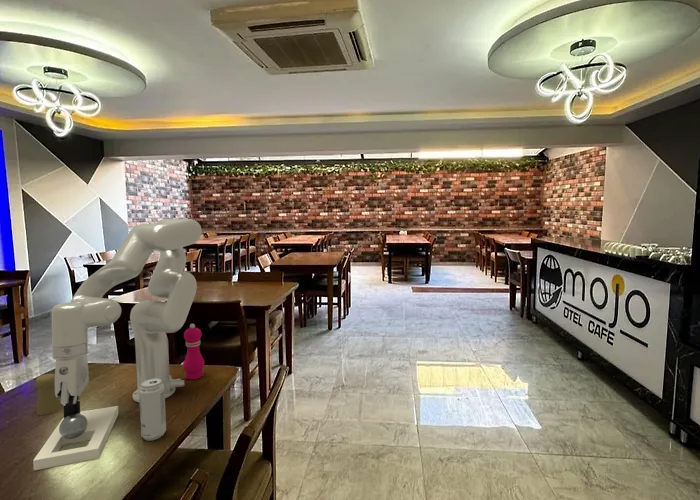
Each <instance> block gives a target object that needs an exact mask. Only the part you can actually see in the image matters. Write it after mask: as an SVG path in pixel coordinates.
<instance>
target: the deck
mask: <svg viewBox="0 0 700 500" xmlns="http://www.w3.org/2000/svg"><path fill="white" fill-rule="evenodd" d="M80 414H82V415H84V416H85V417H86V418H87V421H88V425H87V428H86V430H85V432H84V433H83V434H82V435H80V436H79V437H77V438H74V439H66V438H64V437H62V436H61V435H60V433H59V426H60V424H61V422H62V421H63V419H64V417H63V418H62V419H61V420H60V421H59V423H58V424H57V426H56V427H55V429H54V430H53V432H52V433H51V434H50V436H49V437H48V439H47V440H46V442H45V443H44V445H43V446H42V447H41V449H40V451H38V453H37V455H36V456H35V457H34V459H32V461H33V462H32V464H33V471H38V470H39V471H40V470H44V469H48V468H49V469H50V468H55V467H60V466H65V465H70V464H74V463H80V462H87V461H90V460H96V459H99V458H100V456H101V454H102V452H103V450H104V447H105V445H106V443H107V440H108V438H109V436H110V434H111V431H112V430H113V427H114V424H115V423H116V420H117V418H118V416H119V405H116V406H115V405H114V406H107V407H101V408H95V409H90V410H80ZM85 441H89V442H88V444H87V446H82V447H76V448H70V449H66V450H61V448H62V446H64V445H69V444H75V443H76V444H77V443H81V442H85Z"/></svg>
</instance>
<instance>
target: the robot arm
mask: <svg viewBox="0 0 700 500" xmlns="http://www.w3.org/2000/svg"><path fill="white" fill-rule="evenodd" d="M202 231H203V230H202V227H201V225H200V223H199V222H198V221H197V220H195V219H191V218H163V219H159V220H158V221H157V222H155V223H139V224H137V225H135V226H133V227H132V228H131V230H130V231H129V232H128V233H127V236H126V237H125V238H124V240H123V241H122V243H121V245H120V246H119V248H118V249H117V250H116V252H115V254H114V256H113V257H112V258H111V260H110V261H109V262H108V263H106V264H105V265H103V266H102V267H100V268H99V269H98V270H96V271H95V272H94V273H92V274H91V275H90V276H89V277H87V278H86V279H85V280H84V281H83V282H82V283H81V285H80V286H79V288H78V289H77V290H76V292H75V293H74V294H73V297H72V298H71V300H70V302H63V303H59V304H56V305H54V306H53V307H52V309H51V337H52V339H51V342H52V343H51V344H52V345H51V346H52V348H51V349H52V359H53V360H55V365H54V366H55V369H54V374H55V396H56V397H57V398H59V399H60V404H61V405H62V406H63V418H64V419H65V418H66V417H67V416H69V415H71V414H80V412H81V393H82V392H83V391H84V389H86V387H87V386H88V385H89V383H90V374H89V362H88V360H89V359H88V353H89V337H88V335H89V333H88V329H89V328H94V327H105V326H109V325H111V324H114V323H115V322H117V321H118V319H119V318H120V317H121V314H122V307H121V305H120V303H119V302H118V301H115V300H114V299H111V298H107V297H105V298H104V295H106V293H107V292H108V291H109V290H111V289H112V288H115V286H117V285H119V284H122V283H124V282H127V281H129V280H131V279H134V278H136V277H138V276H139V275H140V273H142V270H143V269H144V267H145V265H146V264H147V262H148V260H149V258H150V257H151V255H152V253H153V252H154V251H156V252H159V257H158V260H157V263H156V265H155V268H154V270H153V272H152V274H151V277H150V279H149V282H148V286H147V291H148V293H149V295H151V296H153V297H154V298H157V299H164V300H165V299H166V300H167V301H160V300H152V299H149V300H147V299H146V300H141V301H139V302H137V303H136V304H135V305H133V307H132V308H131V310H130V314H129V319H130V325H131V328H132V331H133V336H134V345H135V346H134V347H135V365H136V367H135V368H136V379H137V380H136V382H137V389H136V390H135V391H134V392H133V393H132V399H133V401H134V402H137V403H140V402H139V389H140V387H141V383H142V382H144V381H146V380H148V379H154V378H158V379H161V382H162V384H163V385H164V394H165V399H167V398H169V397H171V396H172V395H174V393H175V392H176V388H177V387H178V388H180V387H185V380H183V379H182V378H175V379H174V378H172V375H170V361H169V360H170V357H169V356H170V355H169V339H168V336H167V334H171V333H172V334H173V333H176V332H178V331H179V330H181V329H182V327H183V326H184V324H185V323H186V320H187V317H188V315H189V312H190V309H191V308H192V307H191V306H192V304H193V301H194V299H195V296H196V293H197V288H198V287H197V285H198V284H197V280H196V278H195V276H194V275H193V274H192V273H191V272H189V271H184V269H185V266H186V263H187V255H186V251H185V249H184V247H188V246H191V245H194V244H196V243H197V242H198V241H199V240H200V239H201V237H202Z"/></svg>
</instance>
